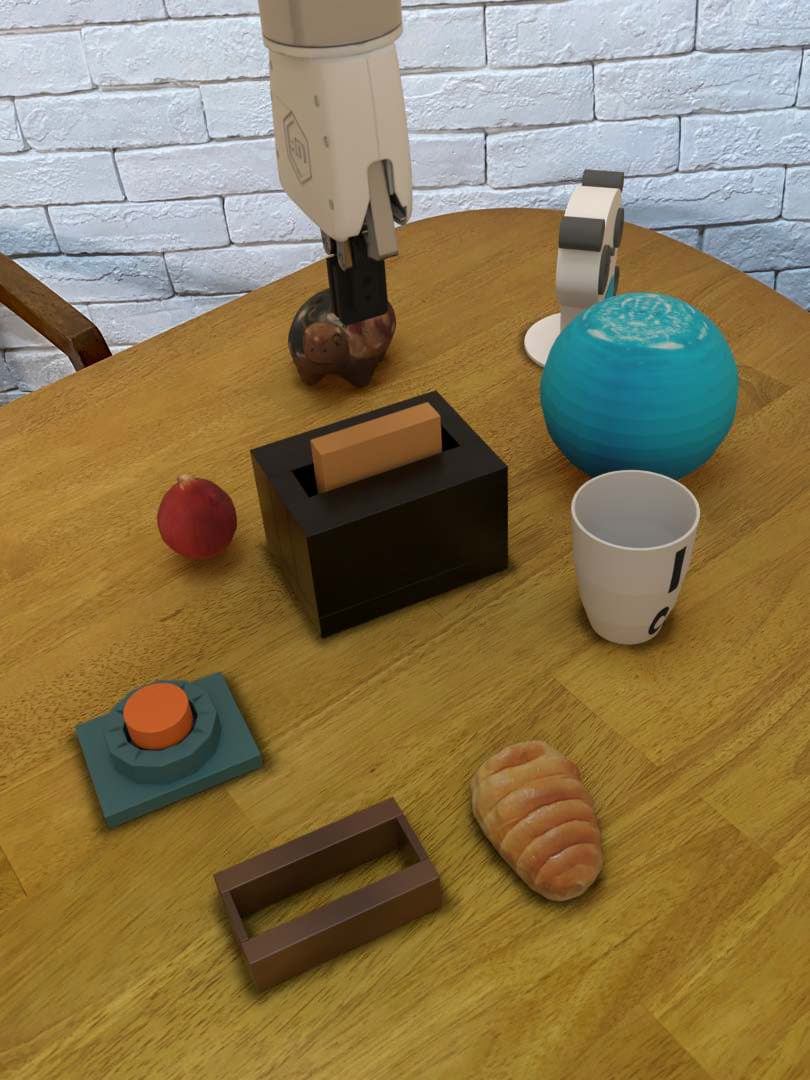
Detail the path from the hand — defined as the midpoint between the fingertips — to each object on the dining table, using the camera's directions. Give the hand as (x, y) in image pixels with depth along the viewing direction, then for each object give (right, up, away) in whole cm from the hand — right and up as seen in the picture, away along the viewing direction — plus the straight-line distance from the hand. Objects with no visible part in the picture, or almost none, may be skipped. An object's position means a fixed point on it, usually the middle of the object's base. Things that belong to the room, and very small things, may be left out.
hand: (360, 313), depth 71 cm
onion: (-12, -16, +15) cm, 25 cm away
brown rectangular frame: (-1, -35, -8) cm, 36 cm away
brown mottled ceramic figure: (-3, +2, +34) cm, 35 cm away
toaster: (+1, -16, +14) cm, 21 cm away
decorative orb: (+21, -9, +20) cm, 31 cm away
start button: (-12, -26, -1) cm, 29 cm away
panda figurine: (+20, +4, +35) cm, 40 cm away
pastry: (+11, -31, -5) cm, 34 cm away
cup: (+18, -20, +8) cm, 28 cm away
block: (-12, -28, +1) cm, 31 cm away
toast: (+1, -14, +13) cm, 19 cm away
